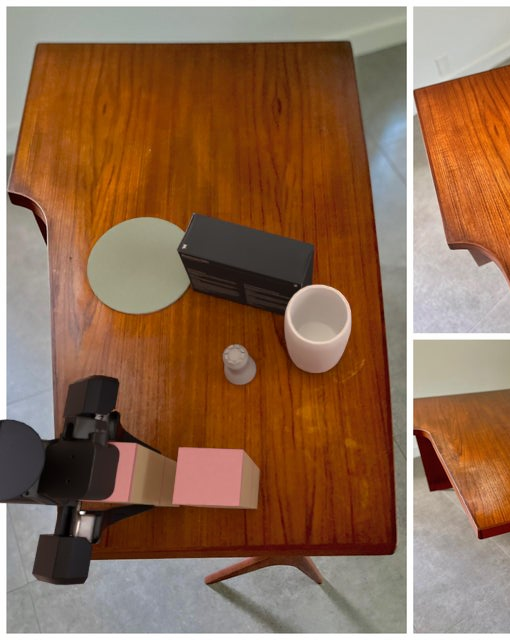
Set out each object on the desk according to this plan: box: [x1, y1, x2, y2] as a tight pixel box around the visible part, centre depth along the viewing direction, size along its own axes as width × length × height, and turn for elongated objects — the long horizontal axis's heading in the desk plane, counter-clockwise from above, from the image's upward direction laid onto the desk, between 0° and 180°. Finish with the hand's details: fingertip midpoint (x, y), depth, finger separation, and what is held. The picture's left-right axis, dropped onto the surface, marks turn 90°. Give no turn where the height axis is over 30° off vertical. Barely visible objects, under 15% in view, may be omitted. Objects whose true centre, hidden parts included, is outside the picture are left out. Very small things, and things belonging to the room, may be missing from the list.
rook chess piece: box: [222, 343, 257, 386], centre depth 71 cm, size 4×4×8 cm
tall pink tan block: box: [172, 446, 261, 510], centre depth 59 cm, size 6×5×22 cm
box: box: [177, 212, 316, 316], centre depth 74 cm, size 17×7×12 cm, turn 74°
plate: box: [86, 216, 192, 316], centre depth 80 cm, size 16×16×1 cm
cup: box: [283, 284, 352, 374], centre depth 70 cm, size 8×8×14 cm
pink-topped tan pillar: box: [81, 442, 181, 508], centre depth 57 cm, size 4×5×22 cm
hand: (155, 480), depth 57 cm, fingers closed on pink-topped tan pillar, 5 cm apart
